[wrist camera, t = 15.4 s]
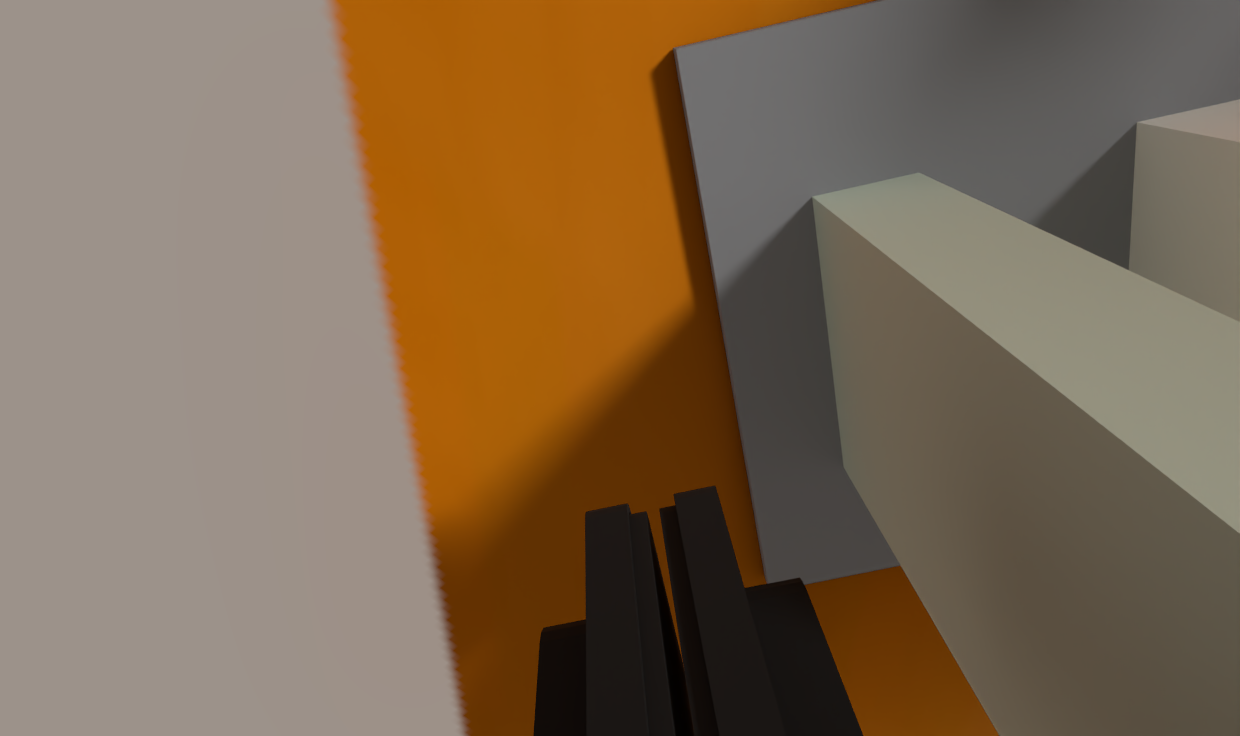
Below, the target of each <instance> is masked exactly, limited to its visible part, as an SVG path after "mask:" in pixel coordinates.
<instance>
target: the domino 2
mask: <svg viewBox="0 0 1240 736" xmlns="http://www.w3.org/2000/svg"><path fill="white" fill-rule="evenodd" d="M1129 271H1131V272H1133V273H1136V274H1138V275H1140V276H1142V277H1144V278H1146V279H1148V280H1151V281H1153V282H1155V283H1157V284H1159V285H1161V286H1163V287H1166V288H1168V289H1170V290H1172V291H1174V292H1176V293H1178V294H1181V295H1183V296H1185V297H1187V298H1189V299H1191V300H1193V301H1196V302H1198V303H1200V304H1202V305H1204V306H1206V307H1208V308H1211V309H1213V310H1215V311H1217V312H1219V313H1221V314H1223V315H1226V316H1228V317H1230V318H1232V319H1234V320H1236V321H1238V322H1240V99H1239V100H1235V101H1230V102H1226V103H1221V104H1217V105H1212V106H1208V107H1203V108H1199V109H1194V110H1190V111H1185V112H1181V113H1176V114H1172V115H1167V116H1163V117H1158V118H1154V119H1149V120H1145V121H1140V122H1137V129H1136V147H1135V166H1134V184H1133V202H1132V220H1131V238H1130V257H1129Z"/></svg>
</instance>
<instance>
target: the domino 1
mask: <svg viewBox="0 0 1240 736" xmlns="http://www.w3.org/2000/svg"><path fill="white" fill-rule="evenodd" d="M812 200H813V209H814V218H815V226H816V235H817V243H818V252H819V260H820V269H821V277H822V286H823V295H824V303H825V312H826V320H827V329H828V337H829V346H830V354H831V363H832V372H833V380H834V389H835V397H836V406H837V414H838V423H839V432H840V440H841V449H842V457H843V466H844V469H845V470H846V472H847V474H848V476H849V477H850V479H851V481H852V483H853V484H854V486H855V488H856V489H857V491H858V493H859V495H860V496H861V498H862V500H863V501H864V503H865V505H866V507H867V508H868V510H869V512H870V514H871V515H872V517H873V519H874V520H875V522H876V524H877V526H878V527H879V529H880V531H881V533H882V534H883V536H884V538H885V539H886V541H887V543H888V545H889V546H890V548H891V550H892V551H893V553H894V555H895V557H896V558H897V560H898V562H899V564H900V565H901V567H902V569H903V570H904V572H905V574H906V576H907V577H908V579H909V581H910V582H911V584H912V586H913V588H914V589H915V591H916V593H917V595H918V596H919V598H920V600H921V601H922V603H923V605H924V607H925V608H926V610H927V612H928V614H929V615H930V617H931V619H932V620H933V622H934V624H935V626H936V627H937V629H938V631H939V632H940V634H941V636H942V638H943V639H944V641H945V643H946V645H947V646H948V648H949V650H950V651H951V653H952V655H953V657H954V658H955V660H956V662H957V663H958V665H959V667H960V669H961V670H962V672H963V674H964V676H965V677H966V679H967V681H968V682H969V684H970V686H971V688H972V689H973V691H974V693H975V695H976V696H977V698H978V700H979V701H980V703H981V705H982V707H983V708H984V710H985V712H986V713H987V715H988V717H989V719H990V720H991V722H992V724H993V726H994V727H995V729H996V731H997V732H998V734H999V736H1240V322H1238V321H1236V320H1234V319H1232V318H1230V317H1228V316H1226V315H1223V314H1221V313H1219V312H1217V311H1215V310H1213V309H1211V308H1208V307H1206V306H1204V305H1202V304H1200V303H1198V302H1196V301H1193V300H1191V299H1189V298H1187V297H1185V296H1183V295H1181V294H1178V293H1176V292H1174V291H1172V290H1170V289H1168V288H1166V287H1163V286H1161V285H1159V284H1157V283H1155V282H1153V281H1151V280H1148V279H1146V278H1144V277H1142V276H1140V275H1138V274H1136V273H1133V272H1131V271H1129V270H1127V269H1125V268H1123V267H1121V266H1118V265H1116V264H1114V263H1112V262H1110V261H1108V260H1106V259H1103V258H1101V257H1099V256H1097V255H1095V254H1093V253H1090V252H1088V251H1086V250H1084V249H1082V248H1080V247H1078V246H1075V245H1073V244H1071V243H1069V242H1067V241H1065V240H1063V239H1060V238H1058V237H1056V236H1054V235H1052V234H1050V233H1048V232H1045V231H1043V230H1041V229H1039V228H1037V227H1035V226H1033V225H1030V224H1028V223H1026V222H1024V221H1022V220H1020V219H1018V218H1015V217H1013V216H1011V215H1009V214H1007V213H1005V212H1003V211H1000V210H998V209H996V208H994V207H992V206H990V205H988V204H985V203H983V202H981V201H979V200H977V199H975V198H973V197H970V196H968V195H966V194H964V193H962V192H960V191H958V190H955V189H953V188H951V187H949V186H947V185H945V184H943V183H940V182H938V181H936V180H934V179H932V178H930V177H928V176H925V175H923V174H921V173H915V174H911V175H906V176H902V177H897V178H893V179H888V180H884V181H879V182H875V183H871V184H866V185H862V186H857V187H853V188H848V189H844V190H840V191H835V192H831V193H826V194H822V195H817V196H813V197H812Z"/></svg>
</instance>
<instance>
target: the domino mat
mask: <svg viewBox="0 0 1240 736" xmlns="http://www.w3.org/2000/svg"><path fill="white" fill-rule="evenodd" d="M673 51H674V57H675V63H676V69H677V74H678V80H679V86H680V92H681V97H682V103H683V109H684V115H685V120H686V126H687V132H688V138H689V143H690V149H691V155H692V161H693V166H694V172H695V178H696V184H697V189H698V195H699V201H700V207H701V212H702V218H703V224H704V230H705V235H706V241H707V247H708V253H709V258H710V264H711V270H712V276H713V281H714V287H715V293H716V299H717V304H718V310H719V316H720V322H721V327H722V333H723V339H724V345H725V350H726V356H727V362H728V368H729V373H730V379H731V385H732V391H733V396H734V402H735V408H736V414H737V419H738V425H739V431H740V437H741V442H742V448H743V454H744V460H745V465H746V471H747V477H748V483H749V488H750V494H751V500H752V506H753V511H754V517H755V523H756V529H757V534H758V540H759V546H760V552H761V557H762V563H763V569H764V575H765V579H766V582H767V584H769V583H774V582H779V581H784V580H789V579H794V578H799V577H800V578H801V580H802V581H803V583H804V585H805V584H810V583H815V582H820V581H825V580H830V579H835V578H840V577H845V576H850V575H855V574H860V573H865V572H870V571H875V570H880V569H885V568H890V567H895V566H900V564H899V562H898V560H897V558H896V557H895V555H894V553H893V551H892V550H891V548H890V546H889V545H888V543H887V541H886V539H885V538H884V536H883V534H882V533H881V531H880V529H879V527H878V526H877V524H876V522H875V520H874V519H873V517H872V515H871V514H870V512H869V510H868V508H867V507H866V505H865V503H864V501H863V500H862V498H861V496H860V495H859V493H858V491H857V489H856V488H855V486H854V484H853V483H852V481H851V479H850V477H849V476H848V474H847V472H846V470H845V469H844V466H843V457H842V449H841V440H840V432H839V423H838V414H837V406H836V397H835V389H834V380H833V372H832V363H831V354H830V346H829V337H828V329H827V320H826V312H825V303H824V295H823V286H822V277H821V269H820V260H819V252H818V243H817V235H816V226H815V218H814V209H813V200H812V197H813V196H817V195H822V194H826V193H831V192H835V191H840V190H844V189H848V188H853V187H857V186H862V185H866V184H871V183H875V182H879V181H884V180H888V179H893V178H897V177H902V176H906V175H911V174H915V173H921V174H923V175H925V176H928V177H930V178H932V179H934V180H936V181H938V182H940V183H943V184H945V185H947V186H949V187H951V188H953V189H955V190H958V191H960V192H962V193H964V194H966V195H968V196H970V197H973V198H975V199H977V200H979V201H981V202H983V203H985V204H988V205H990V206H992V207H994V208H996V209H998V210H1000V211H1003V212H1005V213H1007V214H1009V215H1011V216H1013V217H1015V218H1018V219H1020V220H1022V221H1024V222H1026V223H1028V224H1030V225H1033V226H1035V227H1037V228H1039V229H1041V230H1043V231H1045V232H1048V233H1050V234H1052V235H1054V236H1056V237H1058V238H1060V239H1063V240H1065V241H1067V242H1069V243H1071V244H1073V245H1075V246H1078V247H1080V248H1082V249H1084V250H1086V251H1088V252H1090V253H1093V254H1095V255H1097V256H1099V257H1101V258H1103V259H1106V260H1108V261H1110V262H1112V263H1114V264H1116V265H1118V266H1121V267H1123V268H1125V269H1127V270H1129V257H1130V238H1131V220H1132V202H1133V184H1134V166H1135V147H1136V129H1137V122H1140V121H1145V120H1149V119H1154V118H1158V117H1163V116H1167V115H1172V114H1176V113H1181V112H1185V111H1190V110H1194V109H1199V108H1203V107H1208V106H1212V105H1217V104H1221V103H1226V102H1230V101H1235V100H1239V99H1240V0H877V1H873V2H868V3H864V4H860V5H855V6H851V7H847V8H843V9H838V10H834V11H830V12H825V13H821V14H817V15H813V16H808V17H804V18H800V19H795V20H791V21H787V22H783V23H778V24H774V25H770V26H766V27H761V28H757V29H753V30H748V31H744V32H740V33H736V34H731V35H727V36H723V37H718V38H714V39H710V40H706V41H701V42H697V43H693V44H688V45H684V46H680V47H676V48H673Z"/></svg>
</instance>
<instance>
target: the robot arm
mask: <svg viewBox="0 0 1240 736" xmlns="http://www.w3.org/2000/svg"><path fill="white" fill-rule="evenodd" d="M674 499H675V504H676V505H675V506H670V507H665V508H660V517H661V523H662V529H663V536H664V542H665V549H666V555H667V562H668V568H669V574H670V581H671V587H672V594H673V600H674V607H675V613H676V619H677V626H678V632H679V639H680V645H681V652H682V658H683V662H682V658H681V654H680V650H679V645H678V641H677V637H676V633H675V629H674V624H673V620H672V616H671V612H670V607H669V603H668V599H667V595H666V591H665V586H664V582H663V578H662V574H661V570H660V565H659V561H658V557H657V553H656V548H655V544H654V540H653V536H652V532H651V527H650V523H649V519H648V515H647V512H646V511H645V512H640V513H635V514H631V511H630V508H629V505H628V503H627V504H622V505H617V506H612V507H607V508H602V509H597V510H593V511H588V512H586V515H585V552H586V620H581V621H576V622H571V623H566V624H561V625H556V626H550V627H545V628H543V630H542V632H541V638H540V647H539V662H538V677H537V692H536V707H535V722H534V736H863V734H862V731H861V729H860V726H859V724H858V721H857V718H856V716H855V713H854V711H853V708H852V706H851V703H850V700H849V698H848V695H847V693H846V690H845V688H844V685H843V682H842V680H841V677H840V675H839V672H838V670H837V667H836V664H835V662H834V659H833V657H832V654H831V652H830V649H829V646H828V644H827V641H826V639H825V636H824V634H823V631H822V628H821V626H820V623H819V621H818V618H817V616H816V613H815V610H814V608H813V605H812V603H811V600H810V598H809V595H808V593H807V590H806V588H805V585H804V583H803V581H802V580H801V578H800V577H799V578H794V579H789V580H784V581H779V582H774V583H769V584H764V585H759V586H754V587H748V588H744V585H743V582H742V578H741V575H740V571H739V568H738V564H737V560H736V557H735V553H734V550H733V546H732V543H731V539H730V536H729V532H728V529H727V525H726V521H725V518H724V514H723V511H722V507H721V504H720V500H719V497H718V493H717V490H716V487H715V486H711V487H706V488H701V489H696V490H691V491H686V492H681V493H676V494H674ZM683 664H684V667H683Z"/></svg>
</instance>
